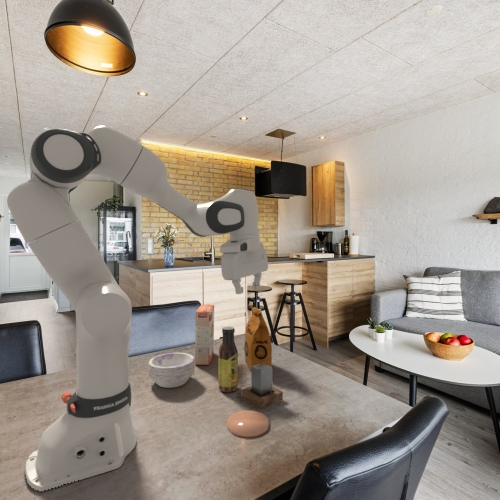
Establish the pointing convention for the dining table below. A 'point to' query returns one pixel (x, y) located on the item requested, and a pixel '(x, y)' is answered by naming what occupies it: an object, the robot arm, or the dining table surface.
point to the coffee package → (257, 340)
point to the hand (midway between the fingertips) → (248, 290)
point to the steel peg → (261, 379)
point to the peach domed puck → (247, 423)
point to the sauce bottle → (228, 362)
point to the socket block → (261, 401)
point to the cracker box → (204, 335)
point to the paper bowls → (171, 369)
